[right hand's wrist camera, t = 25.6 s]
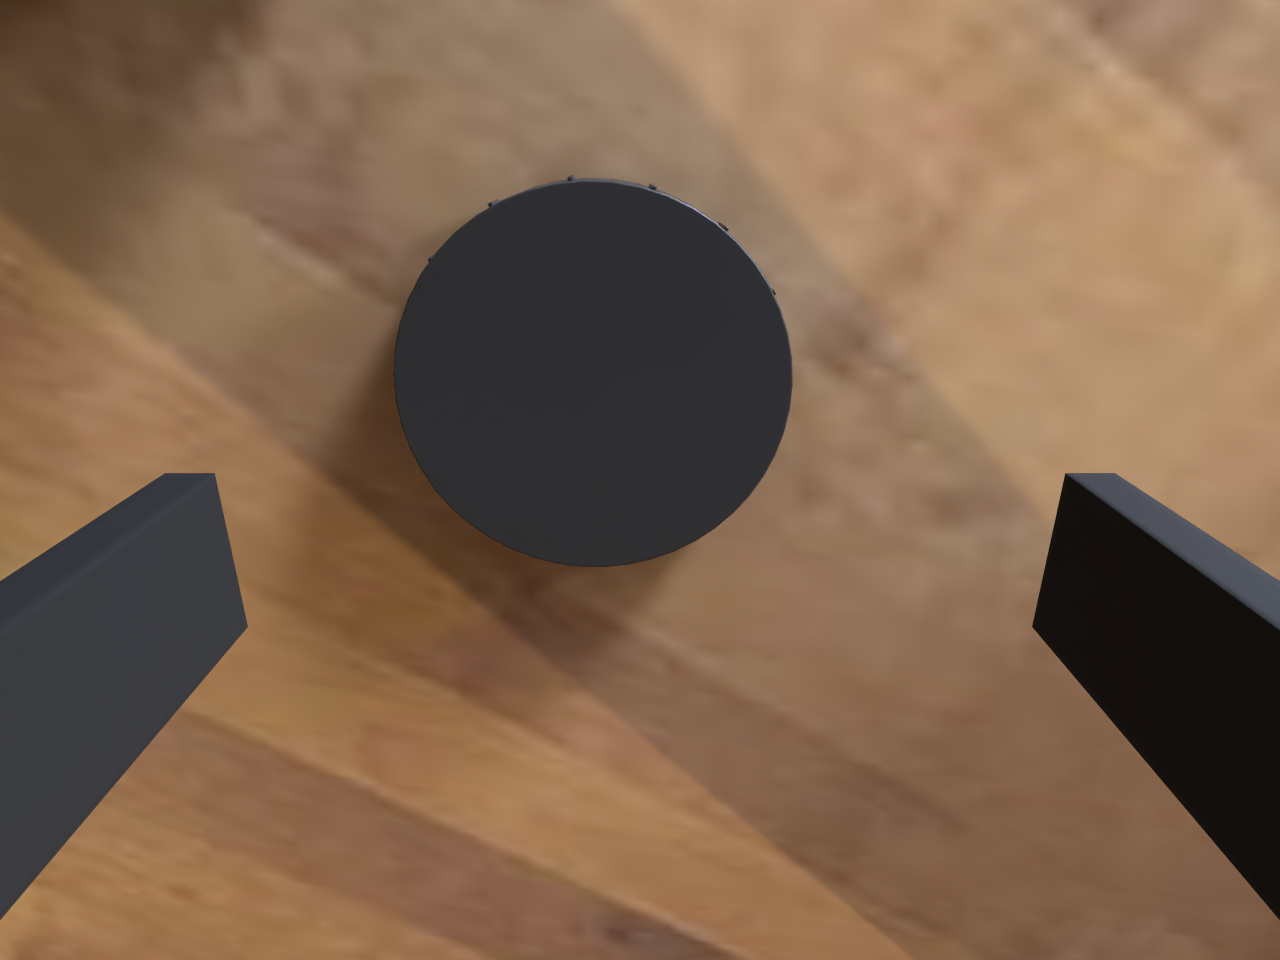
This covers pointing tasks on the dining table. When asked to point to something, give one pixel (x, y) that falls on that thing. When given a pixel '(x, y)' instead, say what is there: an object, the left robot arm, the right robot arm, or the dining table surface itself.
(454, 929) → the dining table surface
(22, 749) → the right robot arm
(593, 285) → the lid
